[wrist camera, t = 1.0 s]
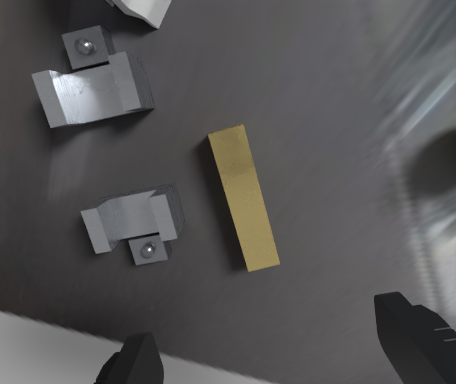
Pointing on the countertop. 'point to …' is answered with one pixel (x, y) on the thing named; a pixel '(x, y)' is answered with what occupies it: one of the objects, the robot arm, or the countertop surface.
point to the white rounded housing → (144, 9)
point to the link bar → (244, 196)
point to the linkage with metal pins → (100, 110)
